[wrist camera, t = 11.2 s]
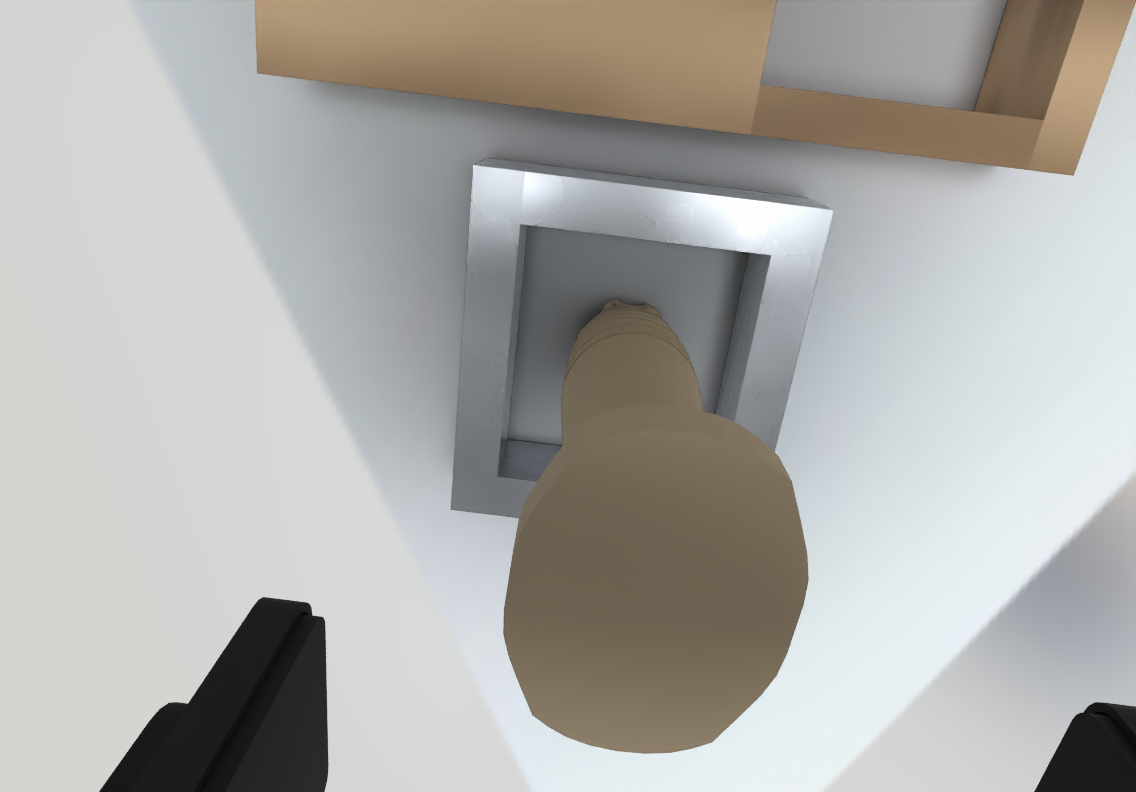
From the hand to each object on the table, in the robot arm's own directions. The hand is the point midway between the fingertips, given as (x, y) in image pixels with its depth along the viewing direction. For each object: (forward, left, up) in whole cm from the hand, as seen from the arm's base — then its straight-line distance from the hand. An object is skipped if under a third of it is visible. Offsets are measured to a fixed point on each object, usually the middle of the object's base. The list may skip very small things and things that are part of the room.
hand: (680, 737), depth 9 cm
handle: (0, 0, -18) cm, 18 cm away
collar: (+1, 0, -18) cm, 18 cm away
